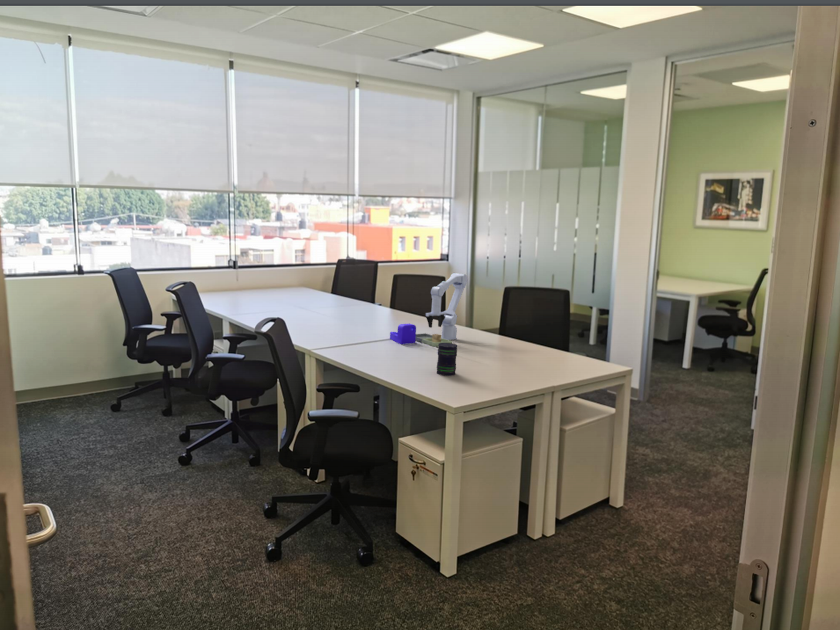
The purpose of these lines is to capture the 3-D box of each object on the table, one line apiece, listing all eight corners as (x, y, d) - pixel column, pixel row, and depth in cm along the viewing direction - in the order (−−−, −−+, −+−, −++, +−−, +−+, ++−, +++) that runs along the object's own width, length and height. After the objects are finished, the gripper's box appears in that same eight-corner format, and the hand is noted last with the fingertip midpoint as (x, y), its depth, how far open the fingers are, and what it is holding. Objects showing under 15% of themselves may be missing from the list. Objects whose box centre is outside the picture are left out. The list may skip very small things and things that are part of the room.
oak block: (436, 341, 394) (437, 333, 393) (440, 342, 391) (441, 335, 390) (431, 342, 392) (432, 334, 391) (436, 343, 389) (436, 335, 388)
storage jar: (435, 370, 324) (437, 342, 321) (454, 371, 325) (456, 343, 322) (437, 375, 314) (439, 346, 312) (456, 376, 315) (458, 347, 312)
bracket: (415, 343, 391) (416, 324, 389) (401, 344, 384) (402, 325, 382) (397, 337, 404) (398, 319, 402) (384, 339, 397) (385, 320, 396)
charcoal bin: (425, 337, 411) (425, 333, 411) (437, 340, 401) (438, 337, 401) (408, 338, 403) (408, 334, 402) (420, 342, 393) (420, 338, 392)
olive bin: (438, 341, 400) (439, 337, 400) (452, 345, 390) (452, 341, 390) (421, 342, 392) (421, 338, 392) (434, 346, 382) (434, 342, 381)
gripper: (441, 304, 402) (439, 325, 404) (423, 305, 393) (422, 326, 395) (448, 306, 396) (446, 327, 399) (430, 307, 388) (428, 328, 390)
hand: (434, 327), depth 397 cm, fingers open, 7 cm apart
